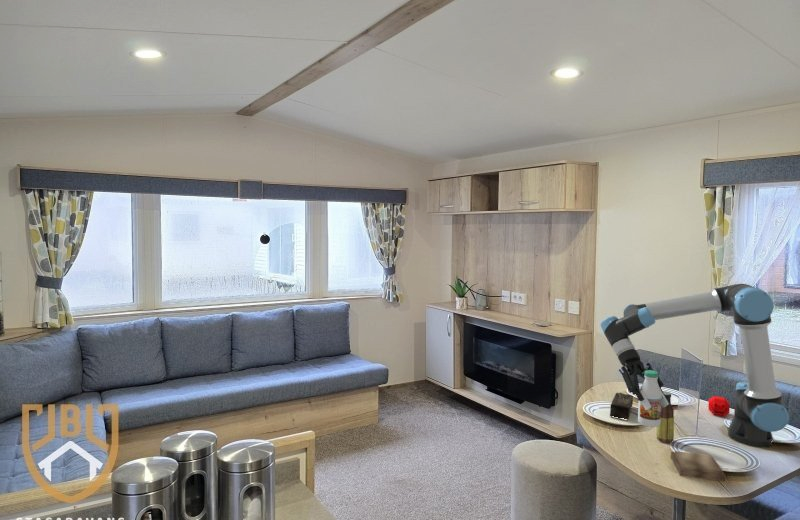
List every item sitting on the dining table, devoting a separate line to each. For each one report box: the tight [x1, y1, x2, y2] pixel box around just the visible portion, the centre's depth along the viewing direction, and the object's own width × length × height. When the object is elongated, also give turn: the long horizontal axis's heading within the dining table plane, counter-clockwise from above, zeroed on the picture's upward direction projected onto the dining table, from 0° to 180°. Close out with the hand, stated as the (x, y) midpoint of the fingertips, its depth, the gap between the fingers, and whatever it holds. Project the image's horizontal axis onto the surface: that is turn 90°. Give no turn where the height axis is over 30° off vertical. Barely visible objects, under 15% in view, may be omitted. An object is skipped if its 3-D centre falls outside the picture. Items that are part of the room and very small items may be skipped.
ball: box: [707, 395, 731, 417], centre depth 234 cm, size 8×8×8 cm
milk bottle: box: [637, 369, 662, 428], centre depth 192 cm, size 8×8×20 cm
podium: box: [670, 450, 727, 482], centre depth 185 cm, size 14×14×3 cm
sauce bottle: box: [655, 390, 675, 444], centre depth 207 cm, size 7×6×20 cm
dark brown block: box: [609, 392, 634, 420], centre depth 237 cm, size 8×19×7 cm, turn 150°
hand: (657, 407), depth 189 cm, fingers closed on milk bottle, 7 cm apart
